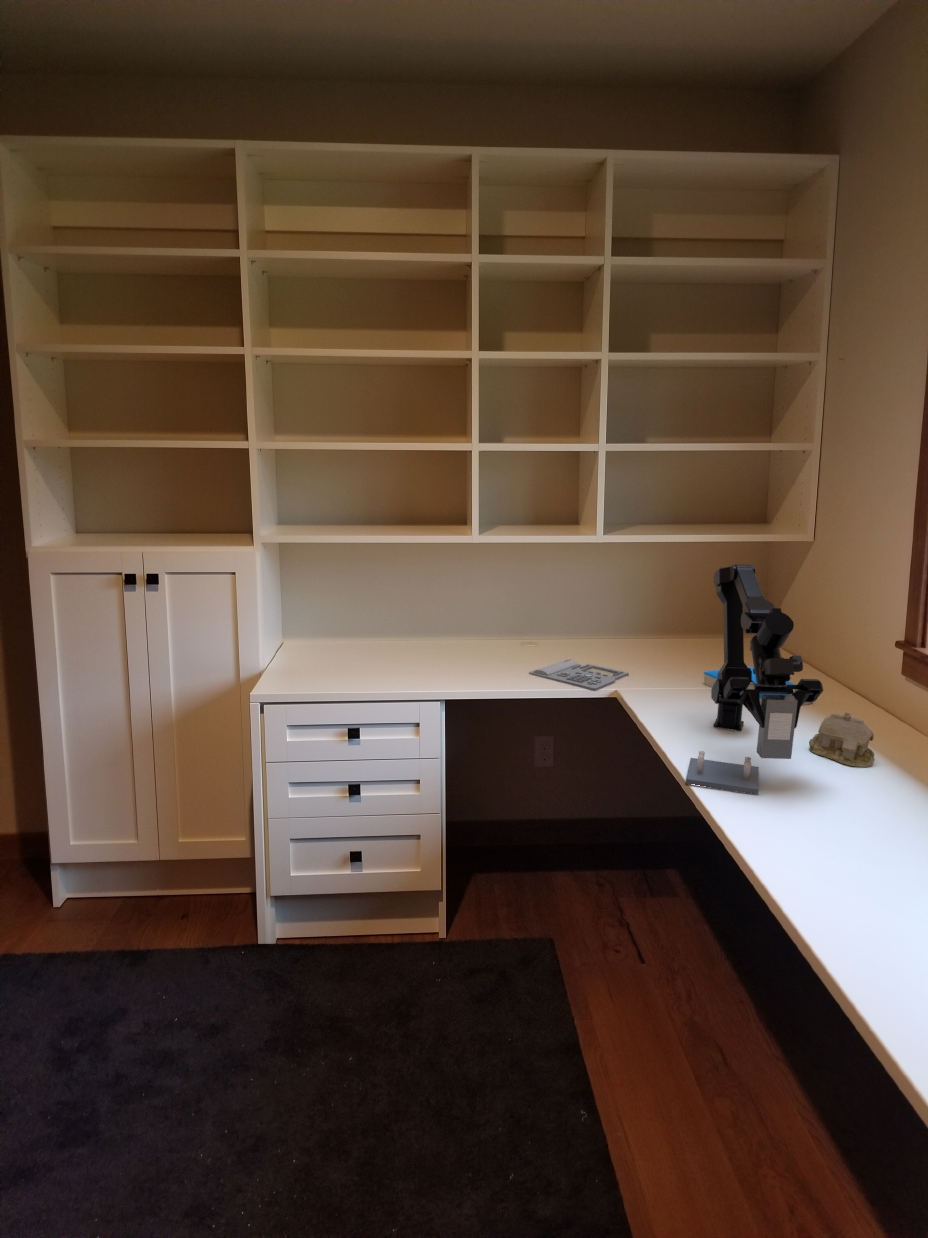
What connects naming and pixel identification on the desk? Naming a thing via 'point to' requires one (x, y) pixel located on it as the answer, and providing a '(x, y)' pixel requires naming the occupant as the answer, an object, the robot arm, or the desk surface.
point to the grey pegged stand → (723, 774)
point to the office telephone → (579, 674)
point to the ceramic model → (844, 740)
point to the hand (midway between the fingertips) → (778, 727)
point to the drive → (777, 726)
